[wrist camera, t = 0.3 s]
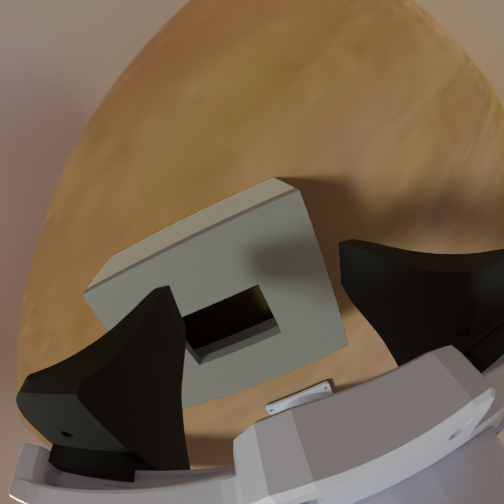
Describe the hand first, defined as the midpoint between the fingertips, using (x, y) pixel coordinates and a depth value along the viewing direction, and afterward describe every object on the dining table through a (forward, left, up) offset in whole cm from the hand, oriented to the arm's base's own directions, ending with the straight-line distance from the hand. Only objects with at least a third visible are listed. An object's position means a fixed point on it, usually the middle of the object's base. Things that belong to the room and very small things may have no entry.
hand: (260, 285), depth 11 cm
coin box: (-4, +3, -10) cm, 11 cm away
